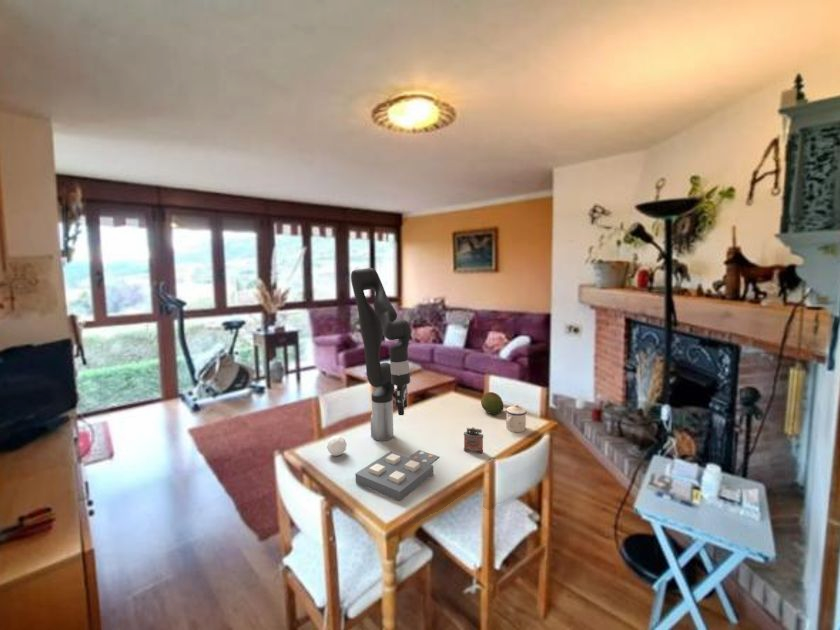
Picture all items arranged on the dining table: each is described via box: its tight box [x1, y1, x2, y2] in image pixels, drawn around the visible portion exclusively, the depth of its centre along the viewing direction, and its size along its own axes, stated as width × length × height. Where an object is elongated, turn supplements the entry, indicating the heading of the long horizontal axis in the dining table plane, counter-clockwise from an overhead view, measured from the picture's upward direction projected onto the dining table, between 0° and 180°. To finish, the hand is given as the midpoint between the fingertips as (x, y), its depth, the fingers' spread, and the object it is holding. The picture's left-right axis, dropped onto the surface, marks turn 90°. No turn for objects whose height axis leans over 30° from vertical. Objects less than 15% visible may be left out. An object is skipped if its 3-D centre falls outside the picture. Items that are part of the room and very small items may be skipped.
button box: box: [354, 450, 434, 502], centre depth 145 cm, size 20×20×4 cm
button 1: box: [386, 454, 401, 465], centre depth 151 cm, size 4×4×3 cm
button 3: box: [369, 464, 385, 476], centre depth 144 cm, size 4×4×3 cm
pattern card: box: [408, 449, 440, 465], centre depth 160 cm, size 10×8×1 cm
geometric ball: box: [326, 435, 348, 457], centre depth 163 cm, size 8×8×8 cm
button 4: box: [389, 471, 405, 484], centre depth 139 cm, size 4×4×3 cm
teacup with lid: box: [505, 403, 527, 433], centre depth 184 cm, size 12×9×12 cm
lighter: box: [463, 426, 484, 455], centre depth 164 cm, size 8×3×10 cm, turn 69°
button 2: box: [405, 460, 420, 472], centre depth 146 cm, size 4×4×3 cm
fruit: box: [480, 391, 504, 415], centre depth 205 cm, size 12×13×10 cm
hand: (402, 410), depth 160 cm, fingers open, 8 cm apart
